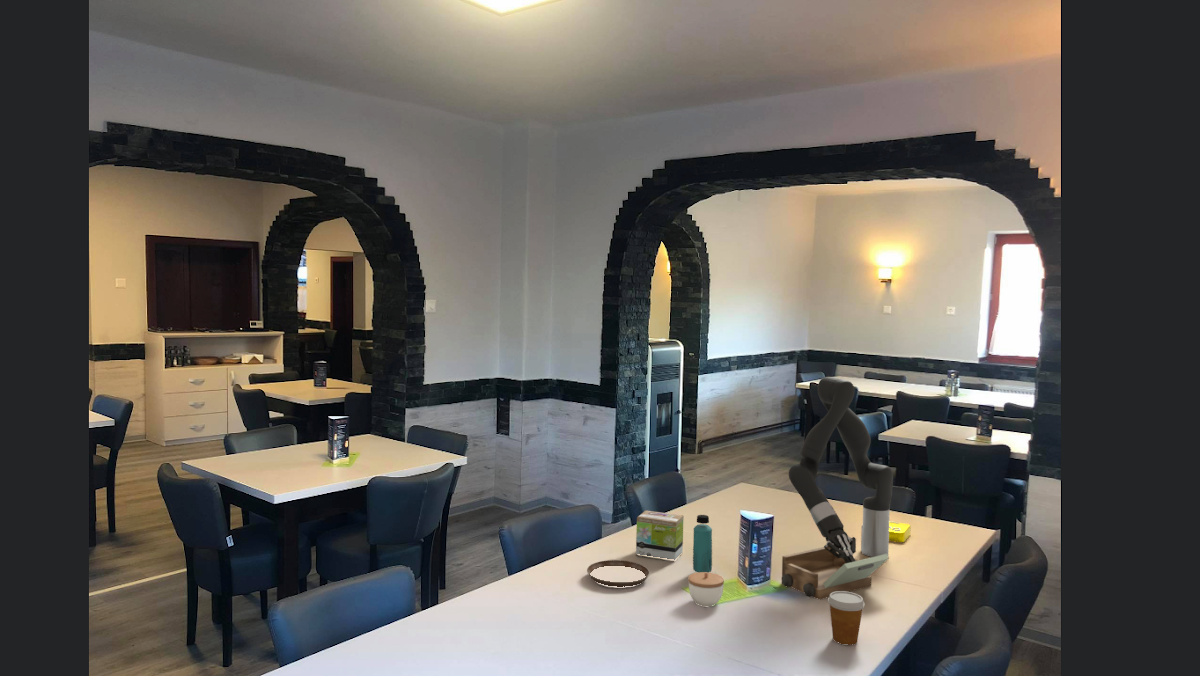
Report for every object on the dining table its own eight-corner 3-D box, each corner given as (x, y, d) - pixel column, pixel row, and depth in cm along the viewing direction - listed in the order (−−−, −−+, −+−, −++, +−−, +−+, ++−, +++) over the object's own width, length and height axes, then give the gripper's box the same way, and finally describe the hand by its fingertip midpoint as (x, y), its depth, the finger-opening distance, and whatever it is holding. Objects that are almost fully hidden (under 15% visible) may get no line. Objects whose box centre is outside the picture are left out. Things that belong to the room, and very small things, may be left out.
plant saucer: (662, 580, 251) (662, 570, 251) (620, 597, 236) (620, 586, 236) (615, 564, 265) (615, 555, 265) (573, 580, 250) (573, 570, 250)
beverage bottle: (711, 578, 253) (712, 519, 252) (691, 576, 254) (692, 517, 253) (712, 571, 259) (713, 513, 258) (692, 570, 260) (694, 512, 259)
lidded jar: (701, 612, 224) (701, 581, 224) (681, 600, 234) (681, 570, 233) (730, 606, 229) (731, 575, 229) (709, 594, 239) (710, 564, 238)
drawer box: (779, 583, 248) (779, 556, 248) (835, 570, 262) (836, 544, 262) (816, 600, 235) (817, 571, 234) (873, 585, 248) (874, 557, 248)
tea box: (635, 557, 273) (635, 516, 273) (644, 548, 283) (644, 509, 282) (675, 562, 268) (676, 521, 267) (683, 554, 277) (684, 514, 276)
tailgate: (822, 583, 237) (844, 563, 230) (863, 573, 247) (886, 553, 240) (826, 589, 236) (848, 570, 229) (867, 579, 246) (890, 560, 238)
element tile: (911, 534, 306) (911, 523, 306) (903, 544, 293) (904, 532, 293) (872, 528, 314) (873, 517, 314) (863, 537, 301) (864, 525, 301)
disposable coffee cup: (821, 633, 211) (822, 590, 211) (854, 632, 212) (855, 590, 211) (834, 648, 202) (836, 604, 201) (869, 647, 202) (870, 603, 202)
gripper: (818, 516, 242) (847, 566, 232) (847, 510, 249) (876, 559, 239) (805, 527, 247) (832, 577, 237) (833, 522, 254) (861, 570, 244)
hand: (854, 568), depth 238 cm, fingers closed
